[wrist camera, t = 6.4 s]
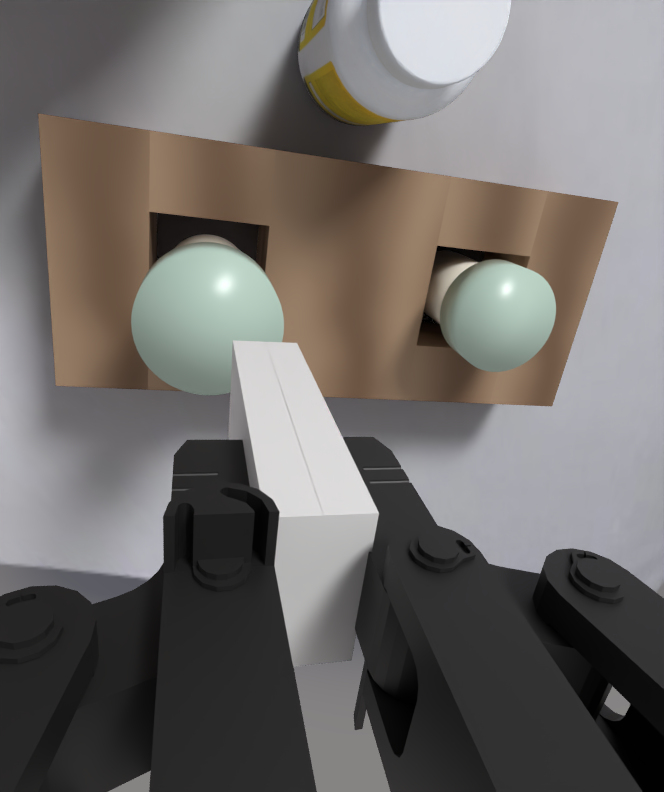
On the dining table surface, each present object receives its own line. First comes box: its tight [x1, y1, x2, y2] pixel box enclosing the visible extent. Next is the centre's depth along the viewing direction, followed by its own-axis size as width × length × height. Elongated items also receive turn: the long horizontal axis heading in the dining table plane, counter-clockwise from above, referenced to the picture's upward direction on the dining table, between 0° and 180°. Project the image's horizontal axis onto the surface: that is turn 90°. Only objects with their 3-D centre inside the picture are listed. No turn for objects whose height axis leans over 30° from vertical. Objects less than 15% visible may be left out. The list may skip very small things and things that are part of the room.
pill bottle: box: [298, 0, 511, 126], centre depth 23 cm, size 6×6×12 cm
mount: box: [38, 113, 618, 406], centre depth 30 cm, size 28×12×5 cm, turn 82°
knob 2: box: [423, 250, 556, 372], centre depth 30 cm, size 5×5×8 cm
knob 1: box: [131, 234, 284, 395], centre depth 23 cm, size 5×5×8 cm
